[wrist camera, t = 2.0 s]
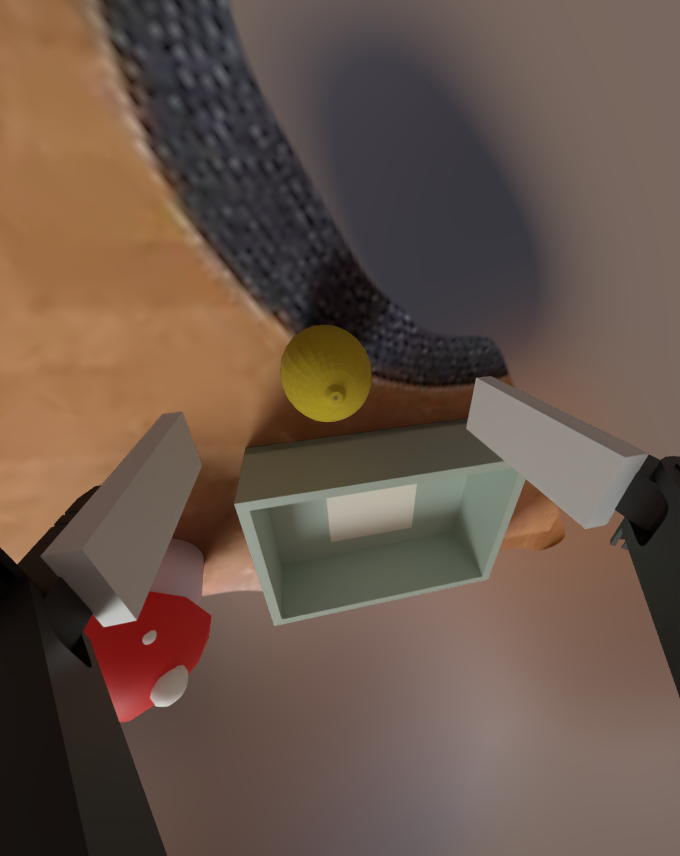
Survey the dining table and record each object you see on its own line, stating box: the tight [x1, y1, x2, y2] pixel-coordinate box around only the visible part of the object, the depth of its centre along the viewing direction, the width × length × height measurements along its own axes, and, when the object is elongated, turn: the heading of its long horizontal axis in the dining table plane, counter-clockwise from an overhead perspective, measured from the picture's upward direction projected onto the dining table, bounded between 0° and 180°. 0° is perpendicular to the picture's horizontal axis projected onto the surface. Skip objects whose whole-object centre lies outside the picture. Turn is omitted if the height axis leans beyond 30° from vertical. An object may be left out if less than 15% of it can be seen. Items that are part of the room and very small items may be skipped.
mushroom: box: [83, 538, 211, 722], centre depth 23 cm, size 11×11×12 cm
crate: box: [234, 418, 526, 626], centre depth 26 cm, size 16×22×6 cm
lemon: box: [280, 325, 372, 422], centre depth 17 cm, size 6×6×8 cm
